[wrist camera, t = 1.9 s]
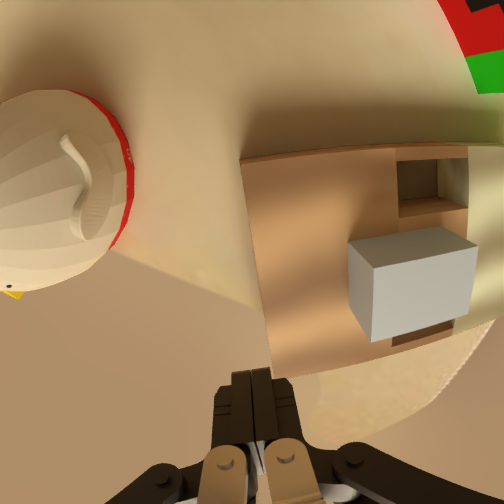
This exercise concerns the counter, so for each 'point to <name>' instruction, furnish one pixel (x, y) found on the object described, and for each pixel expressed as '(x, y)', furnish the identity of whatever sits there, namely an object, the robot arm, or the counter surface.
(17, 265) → the kitchen timer
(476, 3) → the puzzle toy
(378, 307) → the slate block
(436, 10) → the counter surface
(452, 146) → the board
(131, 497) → the robot arm
